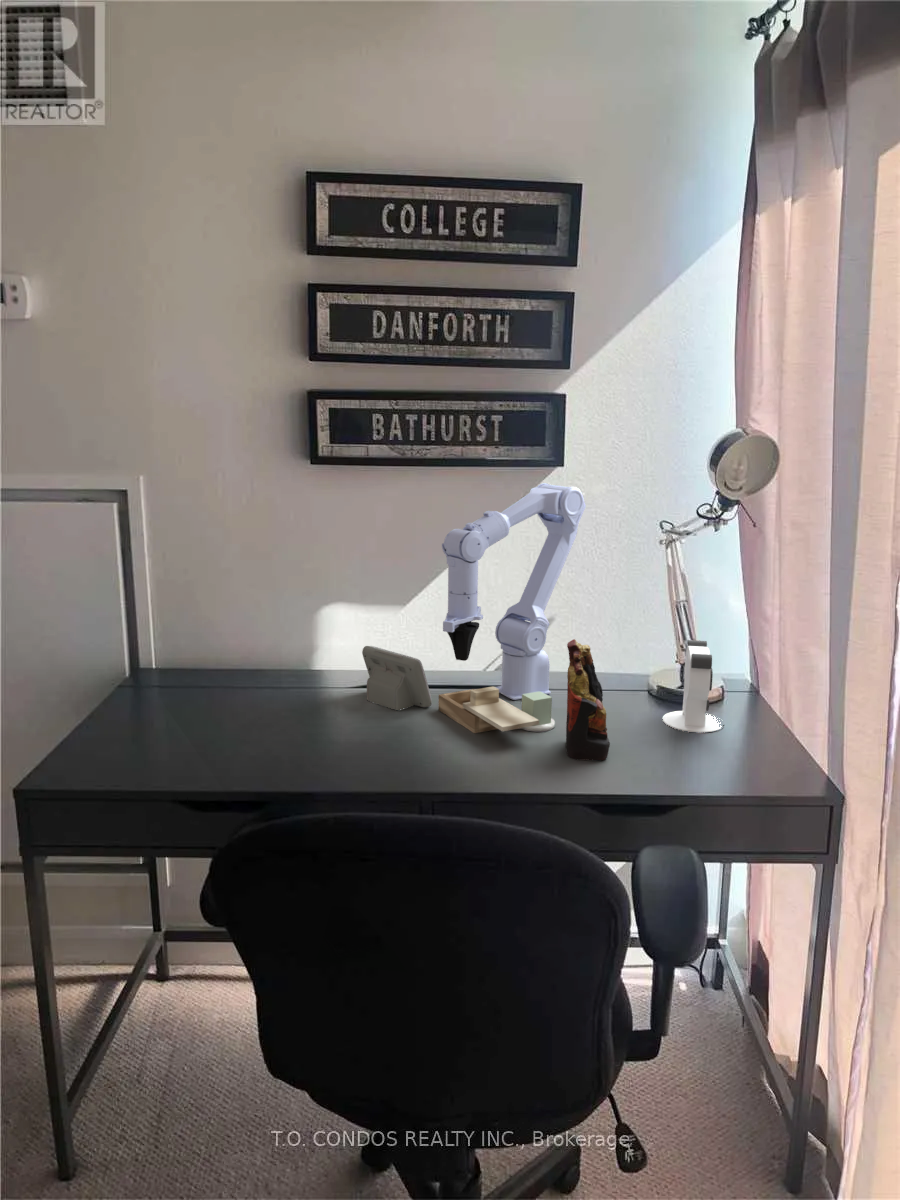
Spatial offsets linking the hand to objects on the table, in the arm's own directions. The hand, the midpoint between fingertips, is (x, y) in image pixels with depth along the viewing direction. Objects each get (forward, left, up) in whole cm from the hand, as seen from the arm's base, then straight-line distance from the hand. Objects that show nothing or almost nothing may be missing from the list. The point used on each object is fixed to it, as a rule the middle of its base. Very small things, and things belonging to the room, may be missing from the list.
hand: (461, 659), depth 176 cm
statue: (-9, +29, -10) cm, 32 cm away
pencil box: (+1, +7, -10) cm, 12 cm away
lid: (+1, +16, -6) cm, 17 cm away
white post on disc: (-35, +28, -10) cm, 46 cm away
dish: (-7, +15, -10) cm, 20 cm away
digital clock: (+10, -9, -10) cm, 17 cm away
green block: (-7, +15, -9) cm, 19 cm away
